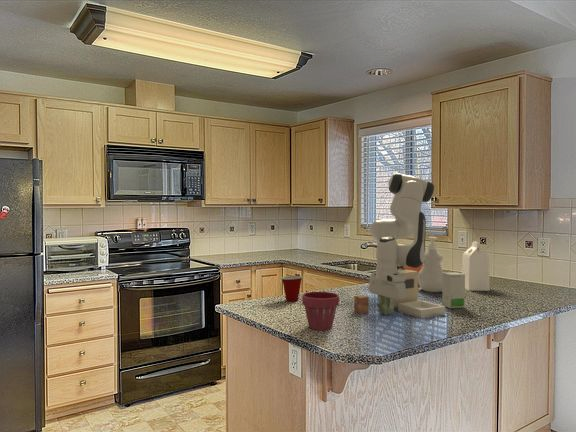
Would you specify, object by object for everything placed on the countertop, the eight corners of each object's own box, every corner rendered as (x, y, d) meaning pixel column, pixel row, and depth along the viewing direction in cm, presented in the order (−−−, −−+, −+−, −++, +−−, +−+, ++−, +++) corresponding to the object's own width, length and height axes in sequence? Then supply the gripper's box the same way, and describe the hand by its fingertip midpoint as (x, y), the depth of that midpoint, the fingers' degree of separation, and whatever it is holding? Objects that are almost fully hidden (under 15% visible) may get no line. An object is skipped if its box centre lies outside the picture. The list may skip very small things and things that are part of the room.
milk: (489, 290, 252) (490, 243, 251) (468, 290, 253) (469, 243, 252) (481, 286, 264) (481, 241, 263) (460, 286, 265) (461, 241, 264)
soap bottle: (451, 292, 248) (452, 237, 247) (438, 294, 241) (439, 238, 240) (425, 287, 261) (425, 235, 260) (412, 289, 254) (412, 236, 253)
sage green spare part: (378, 311, 200) (378, 295, 200) (386, 310, 202) (386, 294, 202) (385, 313, 196) (385, 297, 196) (393, 312, 198) (393, 296, 198)
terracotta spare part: (354, 311, 206) (354, 295, 206) (362, 310, 208) (362, 294, 208) (360, 313, 202) (360, 297, 202) (368, 312, 204) (368, 296, 204)
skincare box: (449, 308, 211) (450, 274, 210) (441, 305, 217) (441, 272, 217) (465, 307, 213) (465, 273, 213) (456, 304, 220) (457, 271, 219)
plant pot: (336, 322, 188) (336, 290, 187) (341, 332, 174) (341, 298, 173) (301, 322, 187) (301, 291, 187) (303, 332, 173) (303, 298, 173)
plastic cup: (290, 297, 236) (290, 273, 235) (307, 300, 229) (307, 276, 228) (276, 300, 227) (276, 276, 227) (293, 304, 220) (293, 278, 220)
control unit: (377, 306, 215) (377, 271, 215) (406, 302, 224) (406, 268, 223) (391, 310, 207) (391, 274, 206) (421, 306, 215) (421, 271, 215)
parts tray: (398, 311, 206) (398, 303, 206) (421, 307, 212) (421, 300, 212) (421, 318, 194) (421, 310, 193) (445, 314, 200) (445, 306, 200)
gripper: (365, 271, 206) (365, 302, 207) (396, 279, 188) (396, 312, 189) (376, 270, 209) (376, 300, 210) (408, 277, 191) (408, 311, 192)
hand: (386, 306), depth 199 cm, fingers closed on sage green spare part, 4 cm apart
